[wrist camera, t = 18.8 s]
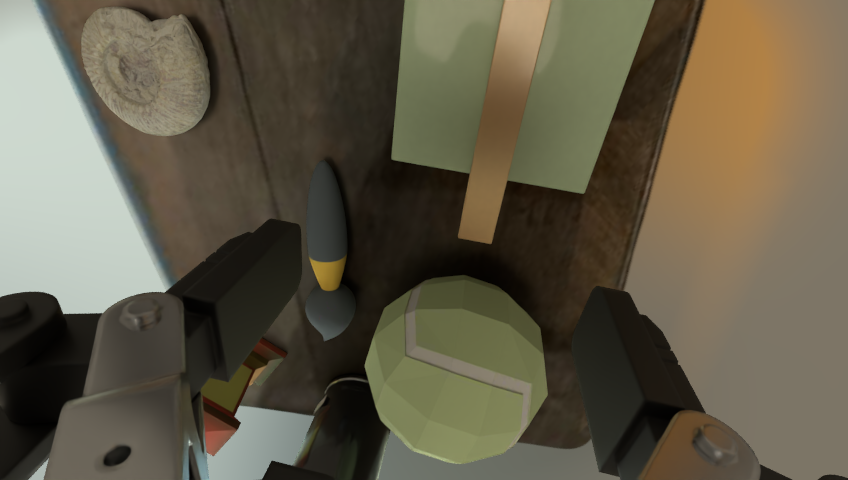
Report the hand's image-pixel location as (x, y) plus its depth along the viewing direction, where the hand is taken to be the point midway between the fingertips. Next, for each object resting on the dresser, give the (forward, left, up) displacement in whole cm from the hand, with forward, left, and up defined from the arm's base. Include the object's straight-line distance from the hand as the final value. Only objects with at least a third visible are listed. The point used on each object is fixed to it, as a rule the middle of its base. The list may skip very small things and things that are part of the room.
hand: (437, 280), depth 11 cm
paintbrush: (-16, +12, -24) cm, 31 cm away
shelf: (+4, -1, -24) cm, 24 cm away
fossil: (-1, +27, -24) cm, 36 cm away
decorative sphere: (-20, -2, -24) cm, 31 cm away
